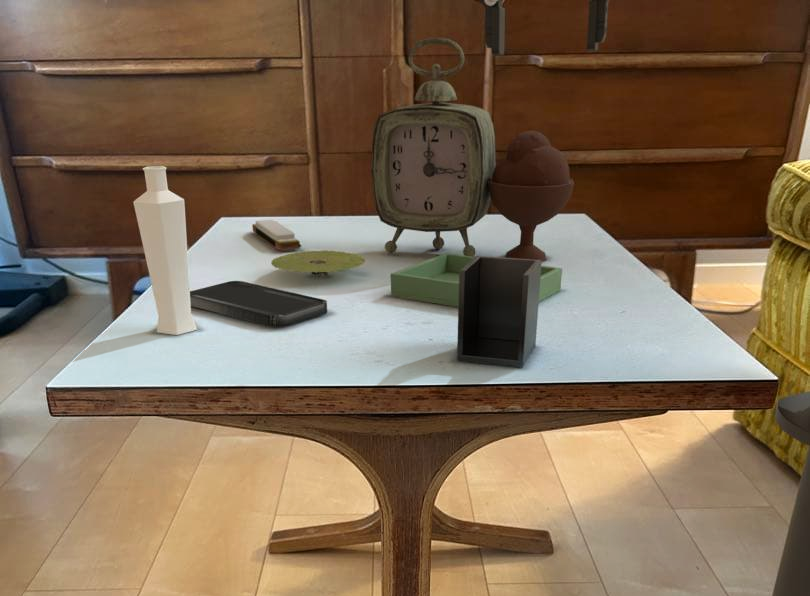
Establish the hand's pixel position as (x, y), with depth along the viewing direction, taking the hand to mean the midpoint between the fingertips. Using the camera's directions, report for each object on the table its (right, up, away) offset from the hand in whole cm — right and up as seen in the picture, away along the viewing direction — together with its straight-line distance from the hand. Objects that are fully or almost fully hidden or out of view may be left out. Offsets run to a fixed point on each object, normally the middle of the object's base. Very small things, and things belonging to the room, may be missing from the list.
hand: (544, 52), depth 79 cm
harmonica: (-31, -2, +46) cm, 55 cm away
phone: (-28, -19, +15) cm, 38 cm away
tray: (-4, -16, +20) cm, 26 cm away
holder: (-4, -27, +1) cm, 27 cm away
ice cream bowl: (+3, -7, +36) cm, 37 cm away
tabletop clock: (-9, -5, +39) cm, 40 cm away
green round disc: (-23, -12, +28) cm, 38 cm away
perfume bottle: (-36, -23, +9) cm, 43 cm away
